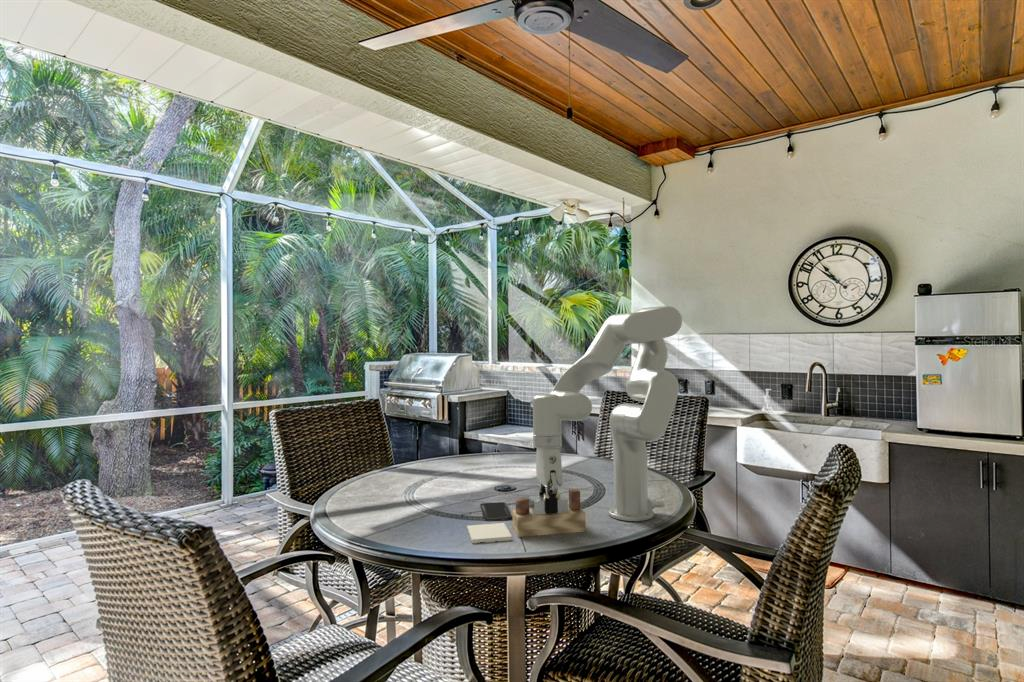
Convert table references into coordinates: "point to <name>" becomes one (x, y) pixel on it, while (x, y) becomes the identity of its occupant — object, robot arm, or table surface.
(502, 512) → the phone
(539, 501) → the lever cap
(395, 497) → the table surface
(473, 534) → the felt mat
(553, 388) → the robot arm
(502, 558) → the table surface
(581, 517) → the body
